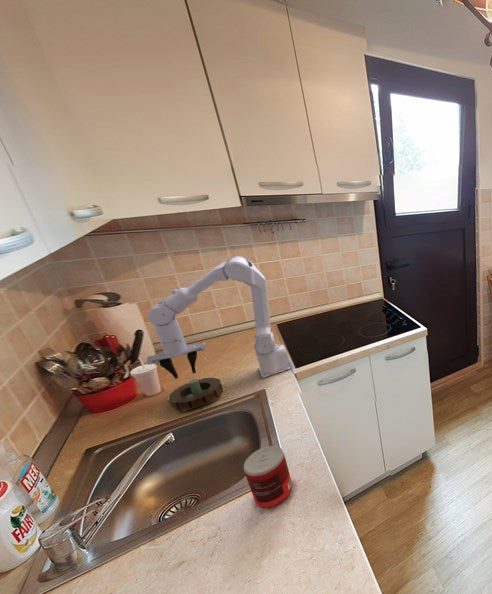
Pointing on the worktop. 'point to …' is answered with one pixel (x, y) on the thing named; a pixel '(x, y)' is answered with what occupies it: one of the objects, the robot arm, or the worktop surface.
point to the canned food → (268, 476)
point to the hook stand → (196, 390)
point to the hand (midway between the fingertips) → (185, 374)
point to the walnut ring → (183, 402)
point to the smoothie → (147, 378)
